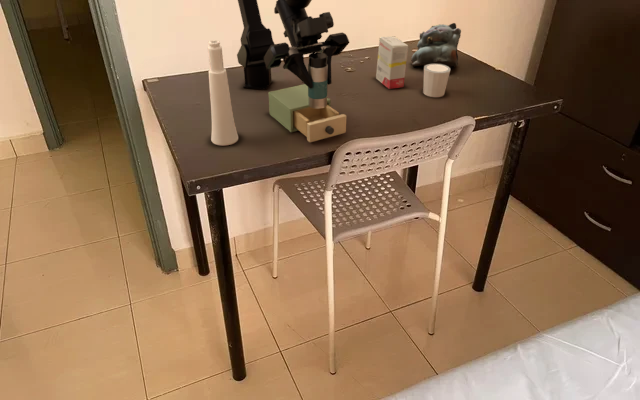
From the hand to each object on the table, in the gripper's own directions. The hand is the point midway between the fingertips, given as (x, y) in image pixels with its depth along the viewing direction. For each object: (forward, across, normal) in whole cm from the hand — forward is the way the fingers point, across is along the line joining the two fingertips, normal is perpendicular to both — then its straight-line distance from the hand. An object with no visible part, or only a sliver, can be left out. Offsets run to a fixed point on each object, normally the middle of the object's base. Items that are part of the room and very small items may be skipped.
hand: (320, 85), depth 109 cm
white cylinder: (+5, +39, +12) cm, 41 cm away
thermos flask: (+2, 0, +4) cm, 5 cm away
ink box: (-3, +33, +20) cm, 39 cm away
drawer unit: (+1, 0, +15) cm, 15 cm away
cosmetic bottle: (+2, -20, +15) cm, 25 cm away
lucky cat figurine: (-7, +52, +24) cm, 58 cm away
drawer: (+7, 0, +9) cm, 11 cm away
